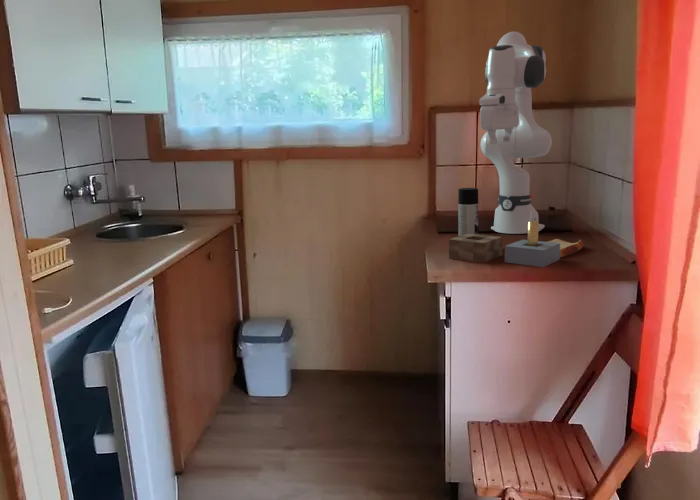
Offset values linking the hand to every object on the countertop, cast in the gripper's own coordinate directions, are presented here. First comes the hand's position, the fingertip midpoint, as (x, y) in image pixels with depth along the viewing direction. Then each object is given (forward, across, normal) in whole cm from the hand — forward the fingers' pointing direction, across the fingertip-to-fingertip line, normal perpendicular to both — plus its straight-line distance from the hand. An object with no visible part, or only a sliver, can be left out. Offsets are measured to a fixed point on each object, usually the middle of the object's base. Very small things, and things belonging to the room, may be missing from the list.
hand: (500, 143), depth 186 cm
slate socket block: (+34, +12, +17) cm, 40 cm away
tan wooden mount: (+34, +16, 0) cm, 38 cm away
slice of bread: (+35, -6, +19) cm, 41 cm away
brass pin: (+34, +12, +17) cm, 40 cm away
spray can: (+35, +3, -10) cm, 37 cm away
